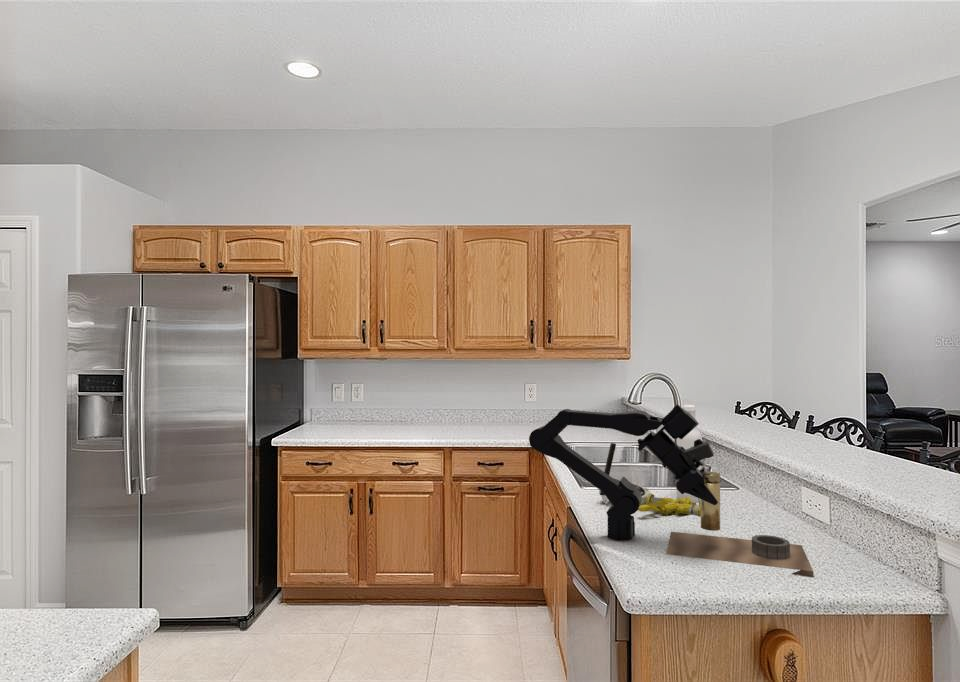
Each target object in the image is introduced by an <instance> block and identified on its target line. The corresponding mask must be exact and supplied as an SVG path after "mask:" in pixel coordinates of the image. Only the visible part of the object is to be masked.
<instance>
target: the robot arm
mask: <svg viewBox="0 0 960 682" xmlns="http://www.w3.org/2000/svg"><path fill="white" fill-rule="evenodd" d="M683 408H684V407H681V405H679V404H676V405H674V406H673V408H672V409H671V410H670V411H669V412H668V413H667V414H666V415H665V416H664V417H660V416H653V415H650V414H649V413H648V412H647V411H645V410H642V409H638V410H631V411H630V410H629V411H622V412H615V413H614V412H603V411H601V412H599V411H589V410H575V409H570V408H565V409H562V410H560V411H559V412H558V413H557V414H556V416H554V417H553V418H551V420H549V421H548V422H547V423H546V424H545V425H542V426H540V427H538V428H535V429H533V431H531V433H530V434H529V436H528V441H529V446H530V447H531V449H533V450H535V451H536V452H539V453H540V454H543V455H545V456H547V457H550V458H553V459H555V460H557V461H559V462H561V463H562V464H564V465H565V466H566V467H567V468H569V469H570V470H572V471H573V472H574V473H576V474H577V475H579V476H580V477H582V478H583V480H585V481H587V482H588V483H590V485H592V486H593V487H595V488H596V489H597V490H599V491H600V490H601V491H602V492H603V493H604V494H605V496H606V497H607V498H608V500H609V501H610V506H609V507H608V509H607V511H606V515H607V539H611V540H613V541H615V542H619V541H621V542H623V541H624V542H628V541H631V540H633V538H634V537H635V536H636V528H635V527H636V524H635V516H634V515H633V514H636V513H637V512H638V511H639V510H638V508H639V507H640V504H641V501H642V496H641V493H640V491H639V490H638V489H637V488H636V487H637V485H638V484H637V485H634V484H635V483H633V484H632V482H631V481H630V480H628V478H626V477H625V476H622V478H621V479H616V478H613V477H611V476H610V474H609V475H607V474H606V473H605V472H604V470H602V469H600V468H599V467H598V466H596V465H595V464H593V463H592V462H591V461H589V460H588V459H586V458H585V457H583V456H582V455H581V454H580V453H578V452H577V451H575V450H574V449H573V448H571V447H570V446H568V445H567V444H566V441H564V440H563V438H562V437H561V435H560V433H561V432H563V430H565V429H566V428H567V427H568V426H576V427H588V428H600V429H611V430H615V431H618V432H621V433H624V434H627V435H632V436H635V437H641V436H644V435H646V434H647V433H648V432H649V431H650V432H649V433H648V434H647V435H646V436H645V437H643V438H638V439H637V445H638V446H637V450H638V452H642V451H643V449H645V448H647V449H648V450H649V451H650V452H651V453H652V454H653V456H655V457H656V459H658V460H659V461H660V462H661V463H662V464H661V466H662V467H663V468H665V469H667V470H668V471H670V473H671V474H673V476H674V479H675V480H676V482H675V489H676V491H677V490H678V491H679V492H680V493H681V494H684V493H688V494H690V495H692V496H695V497H697V498H699V499H702V500H704V501H706V502H708V503H711V504H713V505H716V504H717V503H718V501H717V500H716V498H715V497H714V495H713V494H712V493H711V491H710V490H709V489H708V487H707V486H706V484H705V483H704V474H703V475H702V473H701V472H704V471H705V467H703V465H704V462H703V460H704V459H710V458H713V457H715V454H714V451H713V449H712V447H711V445H710V443H709V441H708V440H706V441H703V439H702V440H700V439H698V440H695V441H694V447H691V448H689V449H686V450H685V449H684V448H683V447H681V446H680V447H679V446H678V445H677V442H675V441H674V440H677V438H680V439H683V438H684V437H685V436H686V435H687V434H688V433H690V432H691V431H692V430H693V429H694V428H697V426H698V425H699V424H700V423H699V422H698V421H697V419H696V417H695V418H694V417H693V416H692V415H691V414H690V413H689V412H686V411H685V410H684V409H683ZM661 426H663V427H661ZM659 428H660V429H659ZM655 430H658V431H657V432H656V433H654V432H653V431H655ZM673 439H674V440H673ZM701 460H702V461H701ZM699 466H702V469H701V470H700V471H699V470H698V469H697V468H698V467H699Z"/></svg>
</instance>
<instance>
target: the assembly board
mask: <svg viewBox="0 0 960 682" xmlns="http://www.w3.org/2000/svg"><path fill="white" fill-rule="evenodd" d="M668 540H669V541H668V545H667V549H666V553H665V554H666V555H671V556H676V557H677V556H678V557H687V558H695V559H697V558H698V559H703V560H713V561H721V562H728V563H729V562H730V563H739V564H746V565H755V566H762V567H772V568H780V569H781V568H782V569H790V570H798V571H795V572H792V573H791V575H793V574H794V575H795V576H804V577H811V578H812V577H813V578H814V570H813V567H812V565H811V563H810V561H809V559H808V557H807V554H806V552H805V550H804V548H803V545H801V544H793V543H792V544H791V543H790V541H789V540H788V539H786V538H783V537H779V536H776V535H775V536H774V535H769V534H756V535H753V536H751V539H746V538H737V537H736V538H735V537H727V536H725V537H724V536H719V535H718V536H716V535H708V534H697V533H689V532H688V533H687V532H680V531H679V532H678V531H677V532H675V531H670V534H669V539H668Z"/></svg>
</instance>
